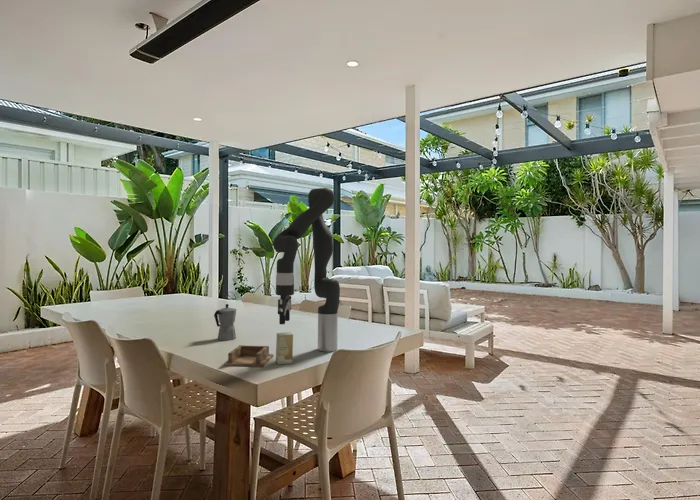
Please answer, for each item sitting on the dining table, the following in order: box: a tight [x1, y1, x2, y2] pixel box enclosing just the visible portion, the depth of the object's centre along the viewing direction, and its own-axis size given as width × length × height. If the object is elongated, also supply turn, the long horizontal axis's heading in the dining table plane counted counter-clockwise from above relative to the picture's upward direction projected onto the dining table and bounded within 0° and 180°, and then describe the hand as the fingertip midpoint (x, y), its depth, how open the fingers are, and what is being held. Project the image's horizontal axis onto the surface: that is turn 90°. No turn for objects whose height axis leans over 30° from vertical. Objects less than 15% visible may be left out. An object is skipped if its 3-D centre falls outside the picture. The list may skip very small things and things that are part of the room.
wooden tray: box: [224, 344, 274, 368], centre depth 184 cm, size 16×16×5 cm
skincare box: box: [275, 332, 294, 365], centre depth 182 cm, size 6×4×12 cm
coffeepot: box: [213, 303, 237, 342], centre depth 225 cm, size 15×9×18 cm, turn 153°
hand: (284, 322), depth 182 cm, fingers open, 8 cm apart
